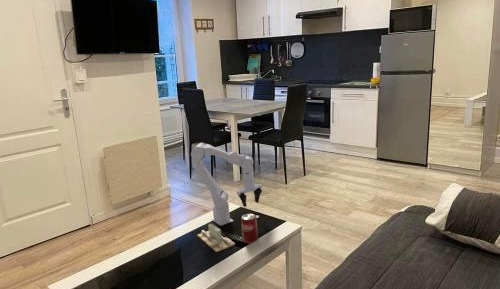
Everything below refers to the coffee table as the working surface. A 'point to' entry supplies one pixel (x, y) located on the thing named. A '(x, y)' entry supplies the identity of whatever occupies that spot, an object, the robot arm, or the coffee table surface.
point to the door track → (213, 243)
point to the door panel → (215, 232)
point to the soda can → (249, 228)
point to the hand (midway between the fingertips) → (250, 204)
